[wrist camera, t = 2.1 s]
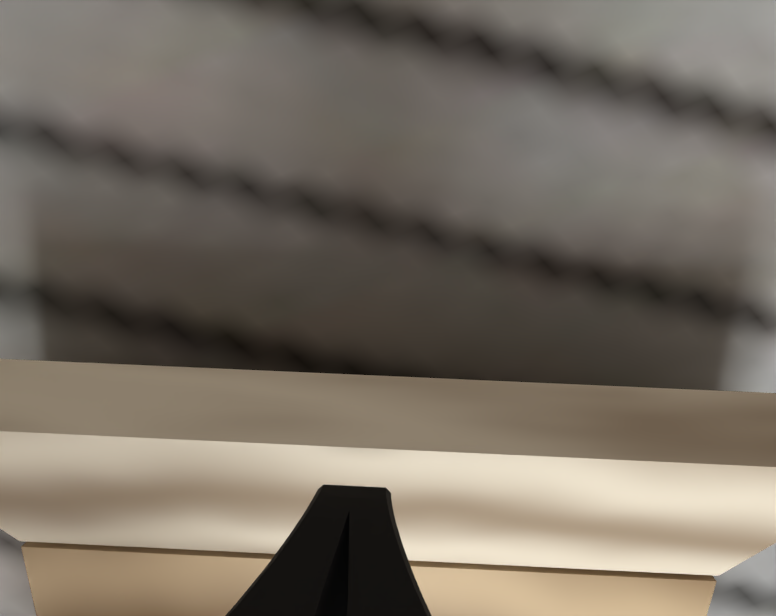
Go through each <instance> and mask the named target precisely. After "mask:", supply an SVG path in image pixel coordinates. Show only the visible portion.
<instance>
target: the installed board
mask: <svg viewBox="0 0 776 616" xmlns="http://www.w3.org/2000/svg"><path fill="white" fill-rule="evenodd" d="M21 548H22V553H23V557H24V562H25V566H26V571H27V575H28V580H29V584H30V589H31V593H32V598H33V602H34V607H35V611H36V616H225V615H226V614H227V613H228V612H229V611H230V610H231V609H232V607H233V606H234V605H235V604H236V603H237V602H238V600H239V599H240V598H241V597H242V595H243V594H244V593H245V592H246V591H247V589H248V588H249V587H250V586H251V585H252V583H253V582H254V581H255V580H256V578H257V577H258V576H259V575H260V574H261V572H262V571H263V570H264V569H265V567H266V566H267V565H268V563H269V562H270V561H271V559H272V558H273V557H274V555H275V554H269V553H249V552H229V551H208V550H188V549H168V548H148V547H127V546H107V545H87V544H67V543H46V542H25V543H24V545H23V546H22V547H21ZM408 561H409V563H410V566H411V569H412V571H413V574H414V576H415V579H416V581H417V584H418V586H419V589H420V591H421V593H422V596H423V598H424V600H425V602H426V604H427V607H428V609H429V611H430V613H431V615H432V616H707V612H708V609H709V605H710V602H711V598H712V595H713V592H714V588H715V585H716V580H715V579H714V577H713V576H712V575H694V574H674V573H653V572H633V571H613V570H593V569H573V568H552V567H532V566H512V565H492V564H471V563H451V562H431V561H411V560H408Z"/></svg>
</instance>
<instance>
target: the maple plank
mask: <svg viewBox="0 0 776 616" xmlns="http://www.w3.org/2000/svg"><path fill="white" fill-rule="evenodd" d="M322 485H345V486H365V487H386V488H387V489H388V490H389V491H390V492H391V500H392V506H393V512H394V516H395V520H396V524H397V528H398V531H399V534H400V538H401V541H402V544H403V547H404V550H405V553H406V555H407V558H408V560H411V561H431V562H451V563H471V564H492V565H512V566H532V567H552V568H573V569H593V570H613V571H633V572H653V573H674V574H694V575H714V576H719V575H721V574H722V573H724V572H726V571H728V570H729V569H731V568H733V567H734V566H736V565H738V564H740V563H741V562H743V561H745V560H747V559H748V558H750V557H752V556H754V555H755V554H757V553H759V552H760V551H762V550H764V549H766V548H767V547H769V546H771V545H773V544H774V543H776V393H759V392H736V391H714V390H691V389H669V388H646V387H624V386H601V385H578V384H556V383H533V382H511V381H488V380H466V379H443V378H420V377H398V376H375V375H353V374H330V373H308V372H285V371H262V370H240V369H217V368H195V367H172V366H150V365H127V364H104V363H82V362H59V361H37V360H14V359H0V529H2V530H3V531H5V532H6V533H8V534H9V535H11V536H12V537H14V538H15V539H17V540H19V541H26V542H46V543H67V544H87V545H107V546H127V547H148V548H168V549H188V550H208V551H229V552H249V553H269V554H276V553H277V551H278V550H279V549H280V547H281V546H282V544H283V543H284V542H285V540H286V539H287V538H288V536H289V535H290V533H291V532H292V530H293V529H294V527H295V526H296V524H297V523H298V521H299V520H300V519H301V517H302V515H303V514H304V512H305V511H306V509H307V507H308V506H309V504H310V502H311V501H312V499H313V497H314V496H315V494H316V492H317V490H318V489H319V488H320V487H321V486H322Z"/></svg>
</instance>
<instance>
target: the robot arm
mask: <svg viewBox="0 0 776 616" xmlns="http://www.w3.org/2000/svg"><path fill="white" fill-rule="evenodd" d="M225 616H432V615H431V613H430V611H429V609H428V607H427V604H426V602H425V600H424V598H423V596H422V593H421V591H420V589H419V586H418V584H417V581H416V579H415V576H414V574H413V571H412V569H411V566H410V563H409V561H408V558H407V555H406V553H405V550H404V547H403V544H402V541H401V538H400V534H399V531H398V528H397V524H396V520H395V516H394V512H393V506H392V500H391V492H390V491H389V490H388V489H387V488H386V487H365V486H345V485H322V486H321V487H320V488H319V489H318V490H317V492H316V494H315V496H314V497H313V499H312V501H311V502H310V504H309V506H308V507H307V509H306V511H305V512H304V514H303V515H302V517H301V519H300V520H299V521H298V523H297V524H296V526H295V527H294V529H293V530H292V532H291V533H290V535H289V536H288V538H287V539H286V540H285V542H284V543H283V544H282V546H281V547H280V549H279V550H278V551H277V553H276V554H275V555H274V557H273V558H272V559H271V561H270V562H269V563H268V565H267V566H266V567H265V569H264V570H263V571H262V572H261V574H260V575H259V576H258V577H257V578H256V580H255V581H254V582H253V583H252V585H251V586H250V587H249V588H248V589H247V591H246V592H245V593H244V594H243V595H242V597H241V598H240V599H239V600H238V602H237V603H236V604H235V605H234V606H233V607H232V609H231V610H230V611H229V612H228V613H227V614H226V615H225Z"/></svg>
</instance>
